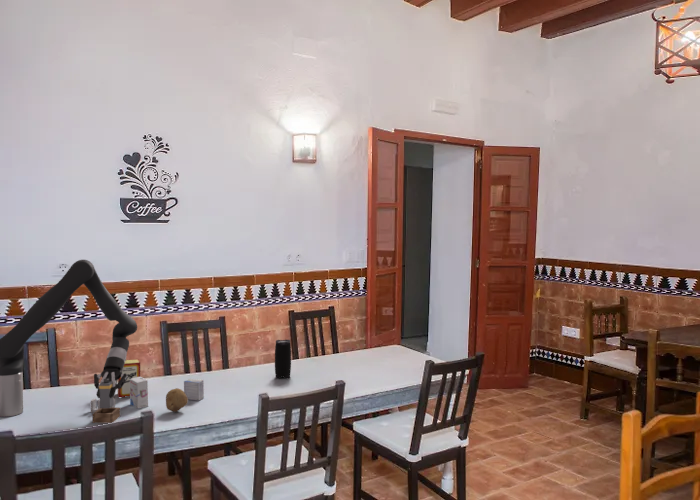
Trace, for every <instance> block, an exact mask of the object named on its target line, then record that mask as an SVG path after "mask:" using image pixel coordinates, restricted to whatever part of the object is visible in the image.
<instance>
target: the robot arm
mask: <svg viewBox="0 0 700 500" xmlns="http://www.w3.org/2000/svg"><path fill="white" fill-rule="evenodd" d="M82 285H84V286H85V287H86V288H87V290H88V291H89V292H90V294H91V295H92V297H93V299H94V301H95V303H96V305H97V306H98V308H99V309H100V310H101V312H102V314H103V315H104V316H105V318H107V319H106V320H109V321H111V322H115V321H116V322H118V323H117V324H115V325H114V327H113V330H112V334H111V335H112V338H111V339H112V343H111V346H110V349H109V351H108V353H107V355H106V356H107V357H106V359H105V362H104V366H103V370H102V371H101V373H98V374H97V373H94V374H93V385H94V387H95V389H96V390H97V391H96V396H97V398H98V399H100V389H99V384H100V383H102V382H104V379H105V378H109V381H112V382H113V383H112V388H111V390H110V394H109V397H110V398H112V397H115V394H116V391H117V390H118V388H119V389H121V388H122V386H123V385H124V383H125V382H126V380H127V378H128V376H127V374H122V371H123V367H124V364H125V361H126V360H127V354H128V351H129V347H130V340H129V339H127V337H129V336H131V335H133V334H135V333H136V332H137V330H138V323H137V322H136V320H135V319H134V318H133V317H132V316H131V315H129V314H128V313H127V312H126V311H124V310H123V309H122V308H121V306H120V305H119V304H118V301H116V299H115V298H114V297H113V296H112V294H111V293H110V292H109V291H108V289H107V288H106V286H105V285H104V284H103V281H102V280H101V279H100V277H99V274H98V273H97V271H96V269H95V266H94V265H93V262H91V261H89V260H88V259H79V260H77V261H75V262H73V264H72V265H71V266H70V267H69V268H68V270H67V271H66V273H65V274H64V275H63V276H62V277H61V279H60V280H59V281H58V282H57V283H55V285H53V286H52V287H51V288H50V289H48V290H47V291H46V292H44V294H43V295H41V296H40V297H39V298H38V300H37V301H35V303H33V304H32V306H31V307H30V308H29V309H28V310H27V311H26V312H25V314H24V315H23V316H22V317H21V319H20V320H19V322H17V324H16V325H15V326H14V327H13V328H12V329H11V330H9V331H8V332H7V333H6V334H5V335H3V336H2V337H1V338H0V417H2V418H4V417H5V418H6V417H7V418H8V417H14V416H17V415H20V414H22V413H24V377H23V376H24V375H23V373H24V370H23V369H24V361H25V344H26V343H27V341H28V340H29V339H30V338H31V337H32V336H33V335H34V334H36V333H37V332H38V331H39V330H40V329H42V328H43V327H45V326H46V324H47V323H49V322H50V321H51V320H52V319H53V318H54V317H55V316H56V315H57V313H59V312H60V310H61V309H62V308H63V307H64V306H65V304H66V303H67V302H68V300H69V299H70V297H72V295H73V294H74V293H75V292H76V291H77V290H78V289H79V288H80V287H81V286H82ZM120 377H121V379H120V381H119V382H118V379H119V378H120Z"/></svg>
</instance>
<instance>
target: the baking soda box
mask: <svg viewBox="0 0 700 500" xmlns="http://www.w3.org/2000/svg"><path fill="white" fill-rule="evenodd" d="M122 374H127V376H128V378H127V380H126V382H125V383H124V385H123V386H122V388H121V389H119V388H118V389H117V397H118V398H119V397H122V398H126V397H125V396H130V379H132V378H136V377H141V361H140V359H130V360H129V359H126V361H125V364H124V367H123V371H122ZM120 379H121V377H120V378H119V379H118V380H117V383H118V382H119V381H120Z"/></svg>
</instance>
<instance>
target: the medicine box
mask: <svg viewBox="0 0 700 500" xmlns="http://www.w3.org/2000/svg"><path fill="white" fill-rule="evenodd" d="M204 384H205V383H204V379H198V378H197V379H196V378H195V379H194V378H187V379H185V380H184V381H183V391H184V393H185V394H186V396H187V398H188V401H201V400H203V399H204V398H205V396H204V394H205V393H204V392H205V391H204V390H205V389H204Z"/></svg>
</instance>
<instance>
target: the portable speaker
mask: <svg viewBox="0 0 700 500" xmlns="http://www.w3.org/2000/svg"><path fill="white" fill-rule="evenodd" d="M291 346H292V345H291V340H290V339H276V340H275V346H274V347H275V348H274V374H275V378H276V379H280V378H284V379H290V378H291V371H292V347H291Z"/></svg>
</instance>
